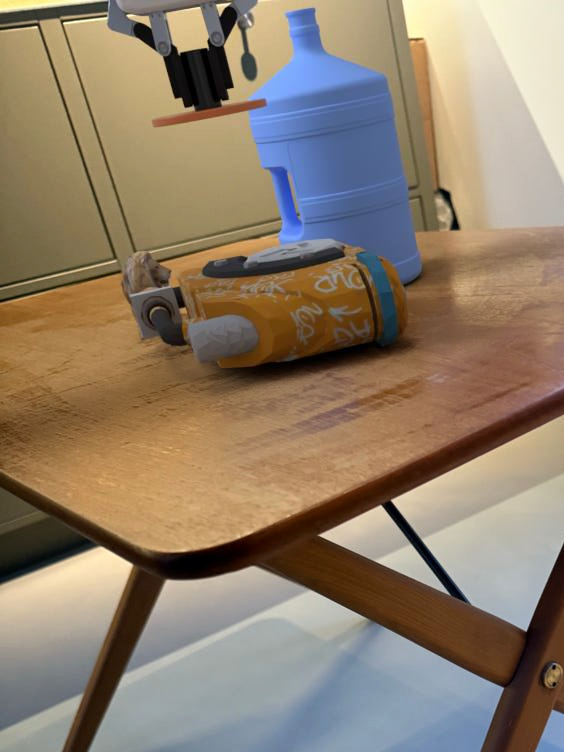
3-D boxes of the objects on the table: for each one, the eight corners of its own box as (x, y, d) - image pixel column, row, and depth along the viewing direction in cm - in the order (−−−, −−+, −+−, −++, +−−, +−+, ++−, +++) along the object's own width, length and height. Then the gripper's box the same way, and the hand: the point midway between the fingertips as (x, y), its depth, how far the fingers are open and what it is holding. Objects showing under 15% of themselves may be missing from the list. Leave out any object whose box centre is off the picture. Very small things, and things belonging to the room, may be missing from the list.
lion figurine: (191, 333, 114) (166, 247, 109) (143, 345, 112) (115, 259, 108) (170, 313, 126) (146, 235, 121) (126, 324, 124) (100, 245, 120)
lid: (146, 130, 86) (126, 60, 84) (160, 124, 95) (142, 61, 92) (265, 107, 87) (249, 38, 84) (268, 104, 95) (253, 40, 93)
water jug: (435, 263, 127) (390, -4, 113) (406, 294, 114) (350, -4, 100) (315, 279, 130) (257, 22, 116) (273, 310, 117) (201, 25, 103)
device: (140, 313, 83) (118, 266, 108) (172, 412, 87) (144, 345, 112) (407, 250, 88) (327, 219, 113) (425, 347, 92) (344, 296, 117)
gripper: (243, -167, 85) (298, 86, 94) (45, -132, 84) (121, 119, 93) (238, -186, 78) (298, 87, 88) (25, -149, 77) (108, 123, 87)
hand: (206, 101), depth 90 cm, fingers closed on lid, 2 cm apart
